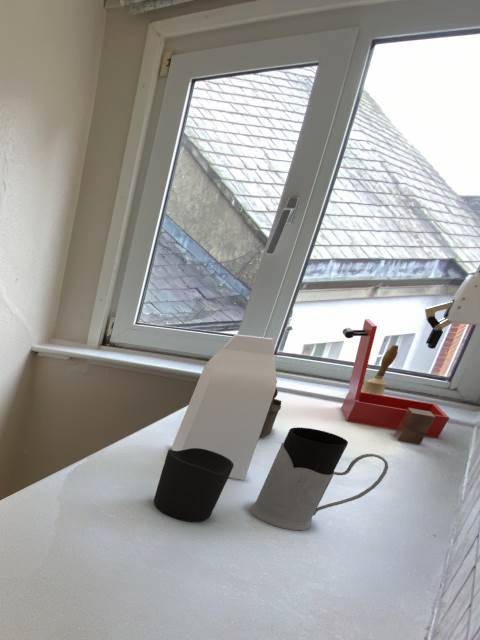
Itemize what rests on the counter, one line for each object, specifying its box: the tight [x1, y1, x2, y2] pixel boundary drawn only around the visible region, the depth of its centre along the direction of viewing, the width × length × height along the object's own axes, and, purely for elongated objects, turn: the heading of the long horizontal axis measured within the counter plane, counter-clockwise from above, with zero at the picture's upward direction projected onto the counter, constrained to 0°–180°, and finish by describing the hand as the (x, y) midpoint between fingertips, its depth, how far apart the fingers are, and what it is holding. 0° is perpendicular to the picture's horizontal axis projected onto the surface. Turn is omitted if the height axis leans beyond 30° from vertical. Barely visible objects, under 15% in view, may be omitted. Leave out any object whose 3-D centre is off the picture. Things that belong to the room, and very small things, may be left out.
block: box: [393, 408, 435, 446], centre depth 130 cm, size 4×5×7 cm
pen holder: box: [153, 448, 234, 523], centre depth 92 cm, size 9×9×10 cm
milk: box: [171, 333, 278, 481], centre depth 108 cm, size 12×12×26 cm
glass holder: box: [249, 427, 389, 531], centre depth 89 cm, size 9×14×15 cm, turn 60°
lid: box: [342, 318, 378, 400], centre depth 143 cm, size 18×14×5 cm
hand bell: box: [361, 344, 399, 396], centre depth 159 cm, size 8×8×16 cm
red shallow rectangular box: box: [340, 389, 450, 439], centre depth 142 cm, size 18×14×5 cm
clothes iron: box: [259, 380, 282, 439], centre depth 129 cm, size 8×16×13 cm, turn 140°
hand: (460, 350), depth 123 cm, fingers open, 9 cm apart
